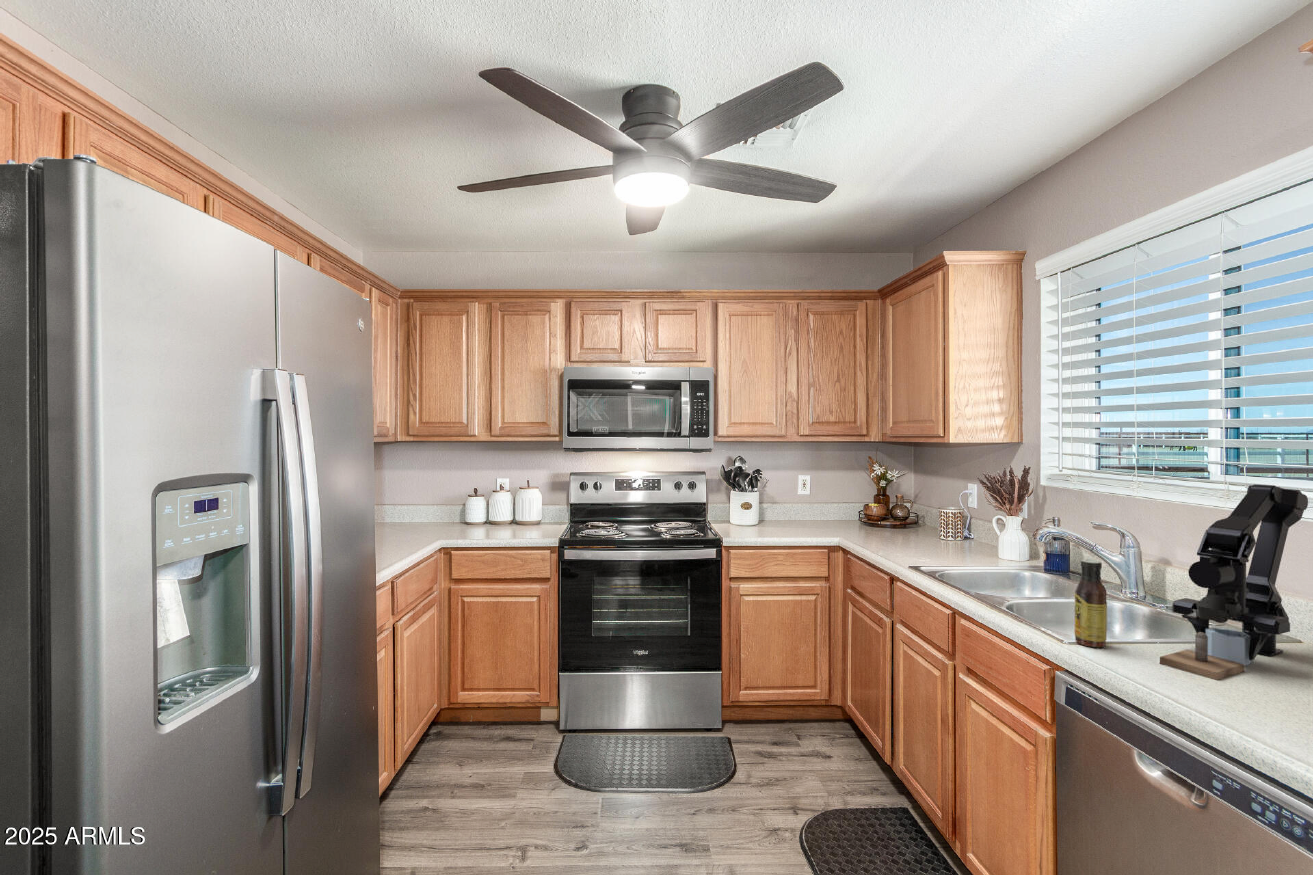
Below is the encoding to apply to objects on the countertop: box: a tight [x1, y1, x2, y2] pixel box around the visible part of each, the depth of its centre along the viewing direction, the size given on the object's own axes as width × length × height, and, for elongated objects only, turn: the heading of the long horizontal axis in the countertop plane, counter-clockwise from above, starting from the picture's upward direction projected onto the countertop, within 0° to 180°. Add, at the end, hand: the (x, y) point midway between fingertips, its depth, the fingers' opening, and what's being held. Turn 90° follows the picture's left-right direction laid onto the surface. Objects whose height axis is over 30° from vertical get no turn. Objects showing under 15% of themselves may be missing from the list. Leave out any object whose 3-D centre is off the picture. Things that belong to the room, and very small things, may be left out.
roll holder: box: [1159, 632, 1245, 681], centre depth 134 cm, size 11×10×8 cm
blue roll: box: [1206, 626, 1252, 666], centre depth 139 cm, size 7×7×6 cm
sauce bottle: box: [1074, 558, 1108, 649], centre depth 149 cm, size 7×6×20 cm
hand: (1227, 654), depth 139 cm, fingers open, 8 cm apart
